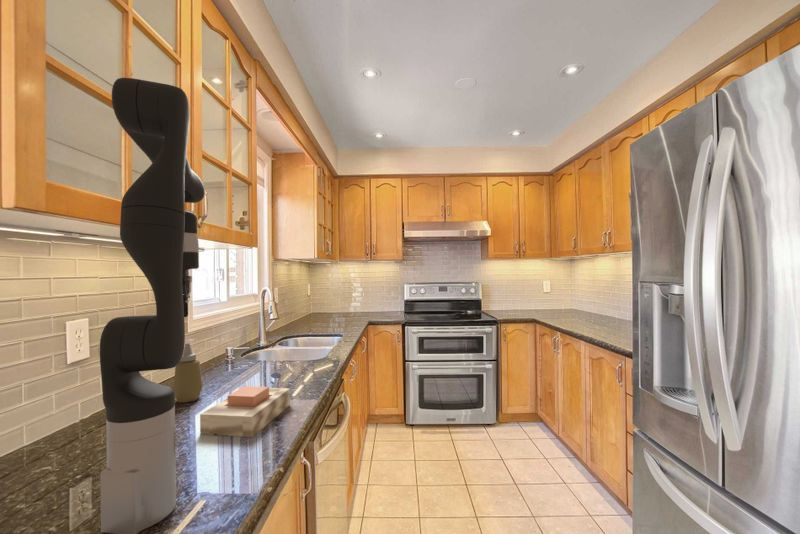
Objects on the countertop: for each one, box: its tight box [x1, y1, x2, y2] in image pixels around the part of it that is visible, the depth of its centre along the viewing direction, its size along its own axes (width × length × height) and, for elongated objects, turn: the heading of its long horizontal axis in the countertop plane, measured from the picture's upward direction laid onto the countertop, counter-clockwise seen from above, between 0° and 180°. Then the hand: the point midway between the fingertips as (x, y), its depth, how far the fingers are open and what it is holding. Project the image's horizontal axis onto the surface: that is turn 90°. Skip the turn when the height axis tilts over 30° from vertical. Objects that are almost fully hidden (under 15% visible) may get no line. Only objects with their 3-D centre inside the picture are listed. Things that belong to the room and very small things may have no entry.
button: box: [227, 385, 270, 407], centre depth 95 cm, size 8×8×4 cm
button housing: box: [199, 387, 291, 438], centre depth 95 cm, size 20×14×5 cm
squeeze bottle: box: [172, 342, 204, 404], centre depth 110 cm, size 8×8×18 cm
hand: (183, 316), depth 90 cm, fingers closed
